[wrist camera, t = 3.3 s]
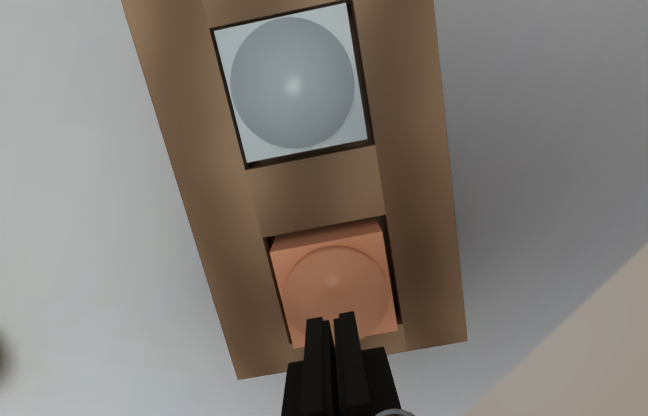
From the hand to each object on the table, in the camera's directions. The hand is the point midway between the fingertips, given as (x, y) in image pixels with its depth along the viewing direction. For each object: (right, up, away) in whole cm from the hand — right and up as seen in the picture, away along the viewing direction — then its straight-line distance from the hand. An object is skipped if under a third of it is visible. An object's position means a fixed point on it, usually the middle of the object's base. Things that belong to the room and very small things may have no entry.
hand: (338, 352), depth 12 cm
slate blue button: (-2, +10, +4) cm, 11 cm away
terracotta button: (0, +2, +6) cm, 7 cm away
